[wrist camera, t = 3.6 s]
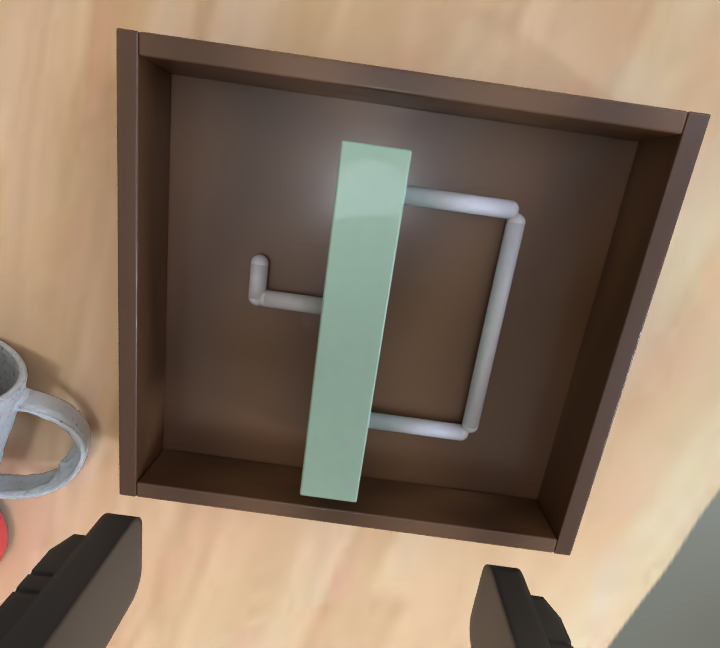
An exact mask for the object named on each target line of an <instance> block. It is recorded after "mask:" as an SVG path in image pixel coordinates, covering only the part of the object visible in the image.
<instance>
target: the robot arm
mask: <svg viewBox="0 0 720 648" xmlns="http://www.w3.org/2000/svg"><path fill="white" fill-rule="evenodd" d="M141 569H142V521H141V518H139V517H134V516H126V515H118V514H111V513H106V514H104V515H103V516H102V517H101V518H100V519H99V520H98V521H97V522H96V524H95V525H94V526H93V527H92V529H91V530H90V531H89V532H88V534H87V535H86V536H85V535H77V534H74V535H72V536H71V537H69V538H67V539H66V540H64V541H63V542H61V543H60V544H58V545H57V546H55V547H54V548H52V549H51V550H49V551H48V553H47V554H46V555H45V556H44V557H43V558H42V559H41V561H40V562H39V563H38V564H37V565H36V566H35V567H34V568H33V570H32V572H31V574H28V575H27V576H26V578H25V579H24V580H23V581H22V582H21V583H20V584H19V586H18V587H17V589H16V591H15V592H12V593H11V595H10V596H9V597H8V598H7V599H6V600H5V601H4V603H3V604H2V605H1V606H0V648H106V646H107V644H108V643H109V641H110V639H111V637H112V636H113V634H114V632H115V630H116V629H117V627H118V625H119V623H120V622H121V620H122V618H123V616H124V615H125V613H126V611H127V609H128V608H129V606H130V604H131V602H132V601H133V599H134V596H135V594H136V591H137V589H138V585H139V582H140V577H141ZM470 642H471V648H573V646H571V641H570V638H569V636H568V634H567V632H566V629H565V627H564V625H563V622H562V620H561V618H560V617H559V616H558V614H557V613H556V612H555V611H554V610H553V608H552V607H551V606H550V605H549V604H548V602H547V601H546V600H545V599H544V598H543V597H540V596H532V595H530V592H529V589H528V587H527V584H526V582H525V579H524V577H523V574H522V572H521V571H520V570H519V569H518V568H511V567H503V566H495V565H488V564H487V565H485V566H484V568H483V571H482V575H481V578H480V582H479V586H478V590H477V594H476V598H475V601H474V605H473V609H472V613H471V618H470Z"/></svg>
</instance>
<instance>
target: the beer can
mask: <svg viewBox="0 0 720 648" xmlns="http://www.w3.org/2000/svg"><path fill="white" fill-rule="evenodd" d="M7 545H8V527H7V524H6V521H5V518H4V516H3V513H2V512H1V511H0V561H1V559H2V557H3V555H4V553H5V550H6V548H7Z"/></svg>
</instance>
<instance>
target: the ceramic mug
mask: <svg viewBox="0 0 720 648" xmlns="http://www.w3.org/2000/svg"><path fill="white" fill-rule="evenodd" d="M27 377H28V373H27V368H26V365H25V362H24V361H23V359H22V358H21V356H20V355H19V354H18V353H17V351H15V350H14V349H13V348H11V347H10V346H9V345H7V344H6V343H4V342H3V341H1V340H0V462H1V459H2V456H3V453H4V447H5V444H6V441H7V439H8V436H9V434H10V431H11V429H12V427H13V424H14V420H15V417H16V414H17V412H18V411H20V412H28V413H31V414H34V415H36V416H38V417H41V418H43V419H46V420H48V421H51V422H53V423H55V424H57V425H59V426H61V427H62V428H63V429H65V430H66V431H67V432H68V433H69V434H70V435H71V437H72V439H73V440H74V441H75V443H74V445H73V447H72V449H71V451H70V452H69V454H68V455H67V457H65V458H64V459H62V460H61V461H60V463H59V468H57V469H55V470H52V471H49V472H45V473H40V474H31V475H11V474H0V499H25V498H32V497H39V496H43V495H46V494H49V493H51V492H53V491H56V490H58V489H59V488H61V487H63V486H64V485H66V484H68V483H69V482H70V481H71V480H72V479H73V478H74V477H75V476H76V475H77V474H78V472H79V471H80V469H81V468H82V466H83V464H84V462H85V460H86V457H87V453H88V448H89V443H90V437H91V434H90V428H89V424H88V422H87V421H86V419H85V418H84V417H83V415H82V414H81V413H80V411H78V410H77V409H76V408H75V407H74V406H73V405H71V404H69V403H67V402H66V401H64V400H61V399H59V398H56V397H54V396H51V395H49V394H46V393H44V392H40V391H36V390H33V389H30V388H28V387H26V382H27Z"/></svg>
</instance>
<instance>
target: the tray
mask: <svg viewBox="0 0 720 648" xmlns="http://www.w3.org/2000/svg"><path fill="white" fill-rule="evenodd" d="M709 118H710V114H704V113H697V112H686V111H682V110H675V109H668V108H661V107H654V106H647V105H640V104H634V103H627V102H620V101H613V100H606V99H599V98H592V97H585V96H579V95H572V94H565V93H558V92H551V91H544V90H537V89H531V88H524V87H517V86H510V85H503V84H496V83H489V82H483V81H476V80H469V79H462V78H455V77H448V76H441V75H435V74H428V73H421V72H414V71H407V70H400V69H393V68H387V67H380V66H373V65H366V64H359V63H352V62H345V61H339V60H332V59H325V58H318V57H311V56H304V55H297V54H290V53H284V52H277V51H270V50H263V49H256V48H249V47H242V46H236V45H229V44H222V43H215V42H208V41H201V40H194V39H188V38H181V37H174V36H167V35H160V34H153V33H146V32H140V33H139V32H138V31H134V30H127V29H120V28H118V29H117V172H118V319H119V465H120V494H121V495H128V496H136V495H137V496H138V497H145V498H153V499H160V500H167V501H175V502H182V503H190V504H197V505H204V506H212V507H219V508H227V509H234V510H241V511H249V512H256V513H264V514H271V515H278V516H286V517H293V518H301V519H308V520H315V521H323V522H330V523H337V524H345V525H352V526H360V527H367V528H374V529H382V530H389V531H397V532H404V533H411V534H419V535H426V536H434V537H441V538H448V539H456V540H463V541H471V542H478V543H485V544H493V545H500V546H508V547H515V548H522V549H530V550H537V551H545V552H554V553H556V554H564V555H570V554H571V551H572V548H573V544H574V541H575V538H576V535H577V532H578V529H579V526H580V522H581V519H582V516H583V513H584V510H585V507H586V504H587V501H588V497H589V494H590V491H591V488H592V485H593V482H594V479H595V475H596V472H597V469H598V466H599V463H600V460H601V457H602V454H603V450H604V447H605V444H606V441H607V438H608V435H609V432H610V428H611V425H612V422H613V419H614V416H615V413H616V410H617V407H618V403H619V400H620V397H621V394H622V391H623V388H624V385H625V381H626V378H627V375H628V372H629V369H630V366H631V363H632V360H633V356H634V353H635V350H636V347H637V344H638V341H639V338H640V334H641V331H642V328H643V325H644V322H645V319H646V316H647V313H648V309H649V306H650V303H651V300H652V297H653V294H654V291H655V287H656V284H657V281H658V278H659V275H660V272H661V269H662V266H663V262H664V259H665V256H666V253H667V250H668V247H669V244H670V240H671V237H672V234H673V231H674V228H675V225H676V222H677V219H678V215H679V212H680V209H681V206H682V203H683V200H684V197H685V193H686V190H687V187H688V184H689V181H690V178H691V175H692V172H693V168H694V165H695V162H696V159H697V156H698V153H699V150H700V146H701V143H702V140H703V137H704V134H705V131H706V128H707V125H708V121H709ZM342 141H351V142H358V143H365V144H372V145H379V146H386V147H393V148H400V149H407V150H411V152H412V155H411V161H410V167H409V174H408V180H407V185H408V186H415V187H422V188H429V189H436V190H443V191H450V192H457V193H464V194H470V195H477V196H484V197H491V198H498V199H505V200H512V201H515V202H516V203H517V204H518V206H519V212H518V213H519V214H521V215H522V216H523V217H524V218H525V227H524V231H523V235H522V240H521V244H520V248H519V253H518V257H517V261H516V266H515V270H514V274H513V279H512V283H511V287H510V292H509V296H508V300H507V304H506V309H505V313H504V317H503V322H502V326H501V330H500V335H499V339H498V343H497V348H496V352H495V356H494V361H493V365H492V369H491V374H490V378H489V382H488V387H487V391H486V395H485V400H484V404H483V408H482V413H481V417H480V421H479V426H478V429H477V430H476V431H475V432H473V433H468V437H467V438H466V439H465V440H462V441H459V440H451V439H444V438H437V437H430V436H422V435H415V434H408V433H400V432H393V431H386V430H379V429H371V428H368V433H367V439H366V445H365V452H364V458H363V464H362V470H361V477H360V483H359V489H358V496H357V501H356V502H350V501H342V500H335V499H327V498H320V497H313V496H305V495H301V494H300V488H301V479H302V471H303V462H304V454H305V445H306V437H307V428H308V420H309V411H310V403H311V394H312V386H313V377H314V369H315V360H316V352H317V344H318V335H319V327H320V318H321V315H320V314H312V313H305V312H298V311H291V310H284V309H277V308H269V307H263V306H261V305H259V306H256V305H253V304H251V303H250V301H249V298H248V295H249V281H250V267H251V260H252V258H253V257H254V256H256V255H263V256H265V257H266V258H267V259H268V262H269V266H268V278H267V290H271V291H279V292H286V293H293V294H300V295H307V296H314V297H321V298H323V293H324V284H325V276H326V267H327V259H328V250H329V242H330V233H331V225H332V216H333V208H334V200H335V191H336V183H337V174H338V166H339V157H340V149H341V142H342ZM506 221H507V219H504V218H497V217H490V216H483V215H476V214H469V213H462V212H455V211H448V210H441V209H434V208H427V207H420V206H413V205H406V204H404V205H403V212H402V218H401V224H400V230H399V237H398V243H397V249H396V256H395V262H394V268H393V275H392V281H391V287H390V294H389V300H388V306H387V313H386V319H385V325H384V332H383V338H382V344H381V350H380V357H379V363H378V369H377V376H376V382H375V388H374V395H373V401H372V407H371V412H374V413H382V414H389V415H396V416H403V417H411V418H418V419H425V420H432V421H440V422H447V423H454V424H461V425H462V421H463V417H464V412H465V407H466V403H467V398H468V394H469V389H470V385H471V380H472V376H473V371H474V367H475V362H476V357H477V353H478V348H479V344H480V339H481V335H482V330H483V326H484V321H485V316H486V312H487V307H488V303H489V298H490V294H491V289H492V285H493V280H494V276H495V271H496V266H497V262H498V257H499V253H500V248H501V244H502V239H503V235H504V230H505V226H506Z"/></svg>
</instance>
